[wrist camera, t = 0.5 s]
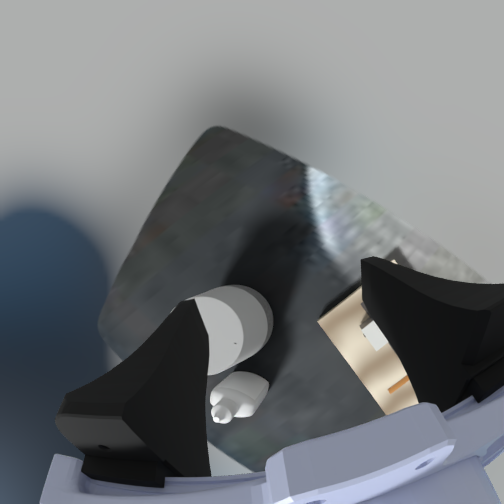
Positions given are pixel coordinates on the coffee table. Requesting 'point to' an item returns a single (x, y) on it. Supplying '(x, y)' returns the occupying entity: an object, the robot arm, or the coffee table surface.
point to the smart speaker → (234, 324)
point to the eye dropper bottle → (237, 396)
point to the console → (368, 355)
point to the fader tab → (373, 333)
